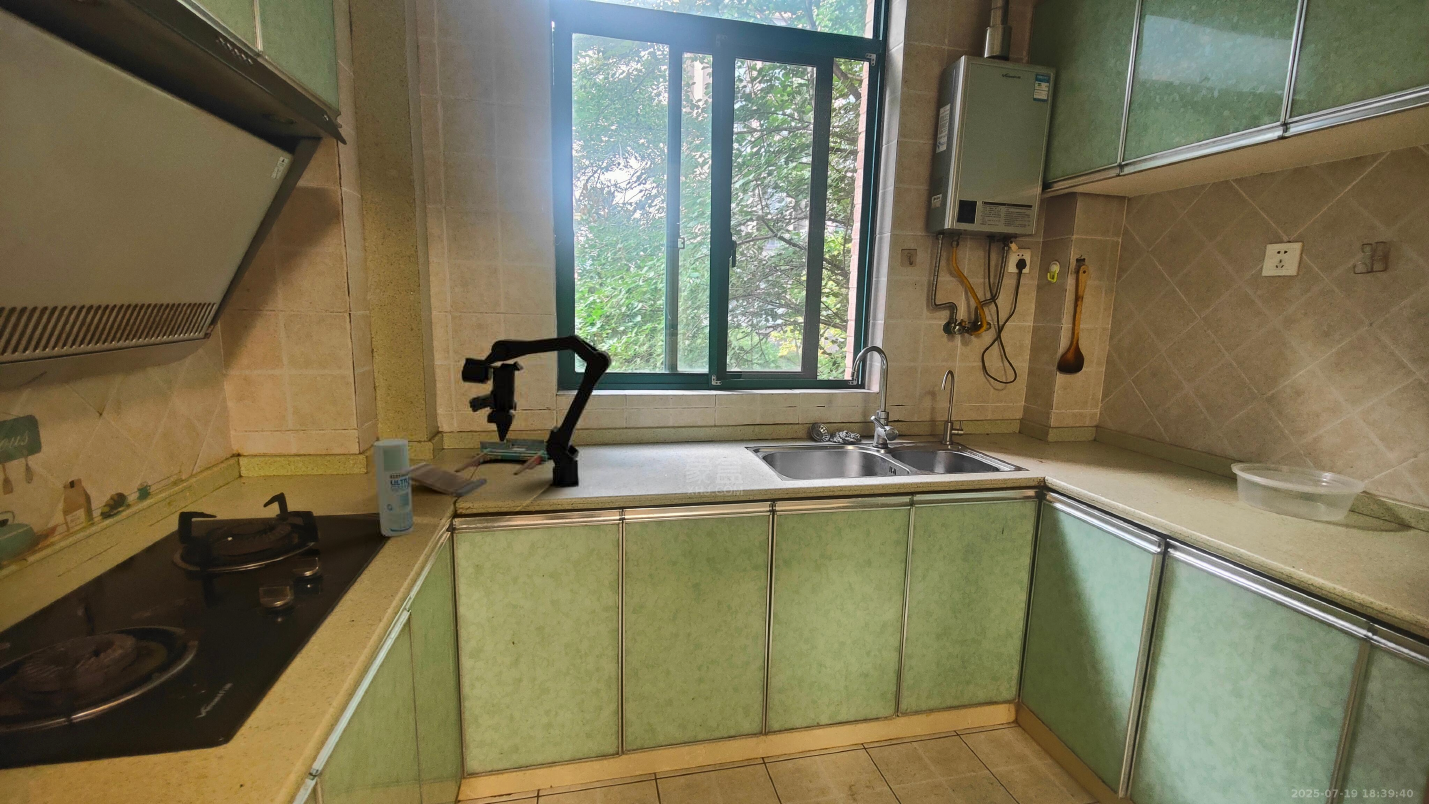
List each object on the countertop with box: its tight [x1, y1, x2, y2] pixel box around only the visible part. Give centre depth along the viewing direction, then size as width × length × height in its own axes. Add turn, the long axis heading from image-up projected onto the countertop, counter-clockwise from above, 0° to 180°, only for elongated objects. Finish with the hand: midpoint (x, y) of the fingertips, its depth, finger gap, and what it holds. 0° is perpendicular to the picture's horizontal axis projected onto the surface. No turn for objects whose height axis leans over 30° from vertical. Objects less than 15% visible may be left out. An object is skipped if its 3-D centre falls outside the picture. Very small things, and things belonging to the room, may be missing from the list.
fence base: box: [454, 478, 488, 498], centre depth 154 cm, size 2×12×2 cm, turn 173°
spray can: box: [372, 438, 414, 537], centre depth 126 cm, size 6×6×20 cm
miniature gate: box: [454, 437, 551, 476], centre depth 183 cm, size 27×6×30 cm
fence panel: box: [410, 461, 475, 496], centre depth 154 cm, size 1×10×15 cm
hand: (501, 441), depth 161 cm, fingers closed
